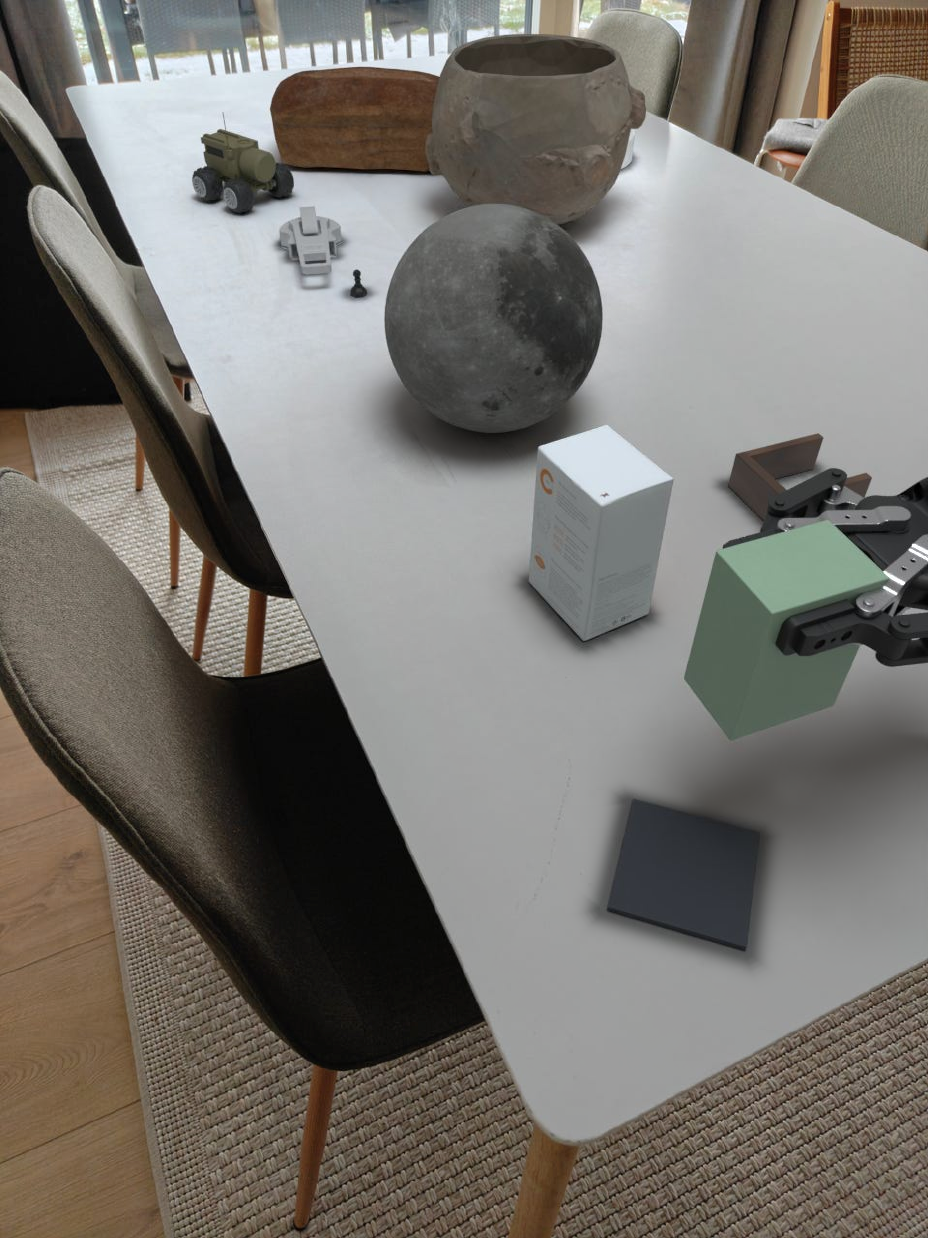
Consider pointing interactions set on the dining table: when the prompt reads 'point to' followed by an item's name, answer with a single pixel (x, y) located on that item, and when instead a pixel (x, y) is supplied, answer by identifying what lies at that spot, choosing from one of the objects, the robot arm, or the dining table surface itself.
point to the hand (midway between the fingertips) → (750, 600)
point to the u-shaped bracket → (779, 471)
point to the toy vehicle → (239, 171)
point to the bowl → (533, 122)
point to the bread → (354, 118)
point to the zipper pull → (311, 240)
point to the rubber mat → (686, 873)
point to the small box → (597, 529)
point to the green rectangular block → (773, 627)
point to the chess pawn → (357, 286)
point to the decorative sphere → (493, 318)
